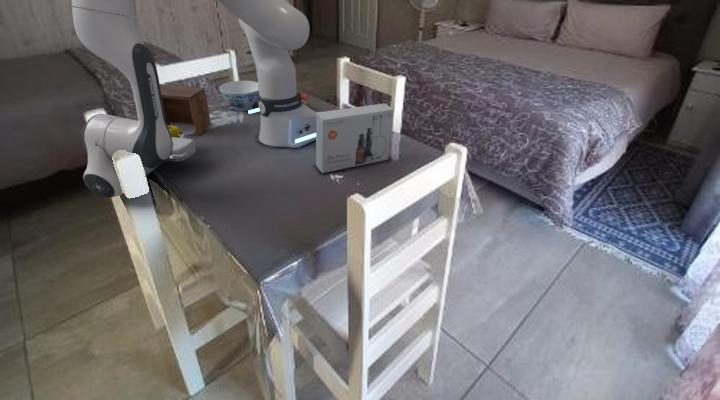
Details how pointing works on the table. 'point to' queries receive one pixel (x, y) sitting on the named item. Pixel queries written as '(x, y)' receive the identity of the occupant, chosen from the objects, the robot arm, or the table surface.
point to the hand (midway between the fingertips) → (171, 134)
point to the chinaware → (240, 94)
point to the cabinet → (186, 106)
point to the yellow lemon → (174, 130)
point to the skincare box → (353, 136)
